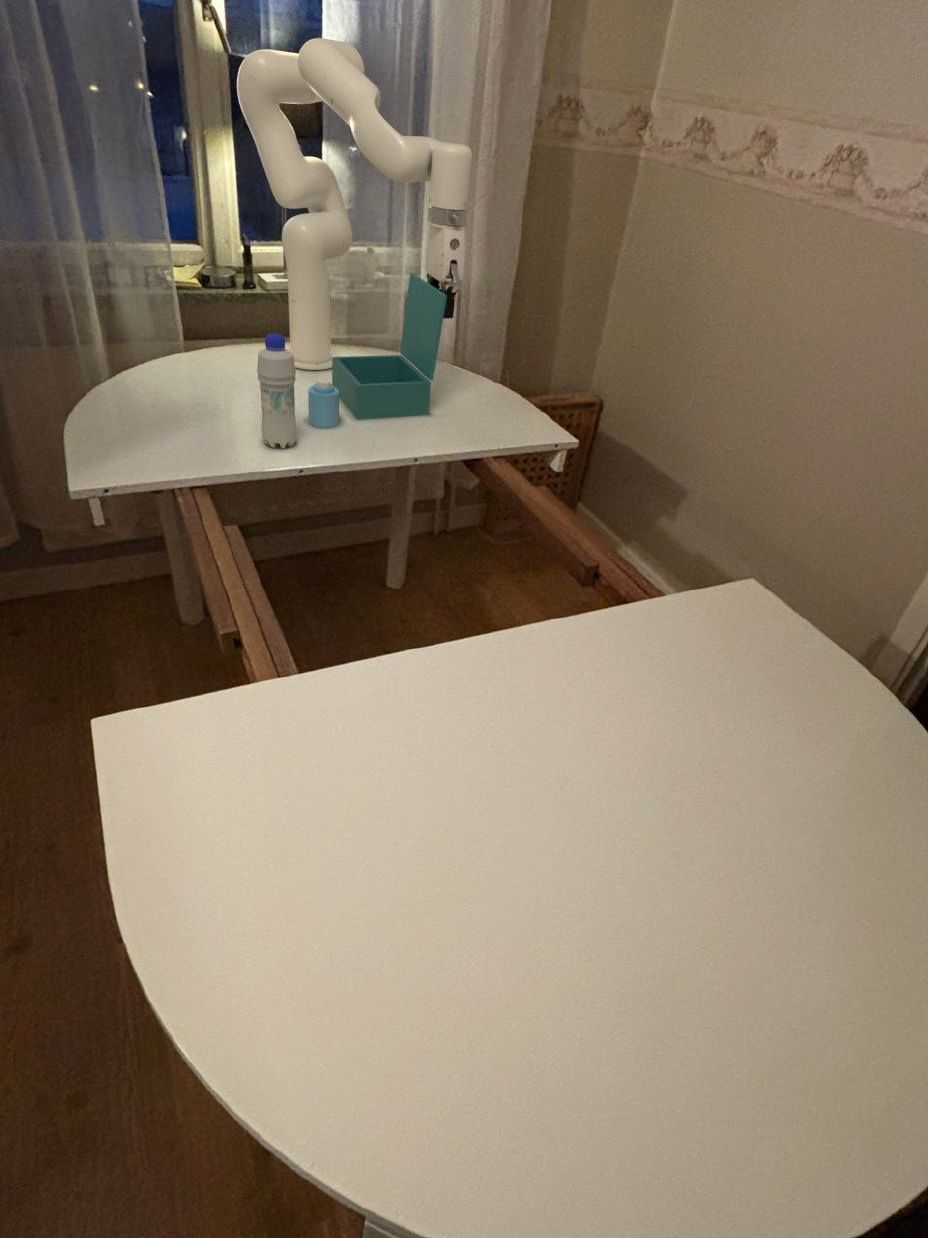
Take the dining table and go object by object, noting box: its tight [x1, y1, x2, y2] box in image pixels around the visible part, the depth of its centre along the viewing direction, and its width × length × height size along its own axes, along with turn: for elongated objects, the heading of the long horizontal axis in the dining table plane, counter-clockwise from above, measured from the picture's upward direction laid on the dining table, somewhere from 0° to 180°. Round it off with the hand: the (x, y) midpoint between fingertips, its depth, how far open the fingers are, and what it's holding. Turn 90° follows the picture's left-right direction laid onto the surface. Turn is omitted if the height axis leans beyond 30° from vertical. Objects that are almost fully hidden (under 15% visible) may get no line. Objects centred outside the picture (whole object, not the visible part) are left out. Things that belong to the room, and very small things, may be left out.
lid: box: [399, 272, 447, 381], centre depth 156 cm, size 17×18×5 cm
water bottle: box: [307, 378, 340, 428], centre depth 147 cm, size 6×6×8 cm
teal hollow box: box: [331, 354, 432, 420], centre depth 159 cm, size 16×18×7 cm
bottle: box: [256, 332, 297, 449], centre depth 133 cm, size 7×7×20 cm
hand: (439, 312), depth 155 cm, fingers closed on lid, 6 cm apart
